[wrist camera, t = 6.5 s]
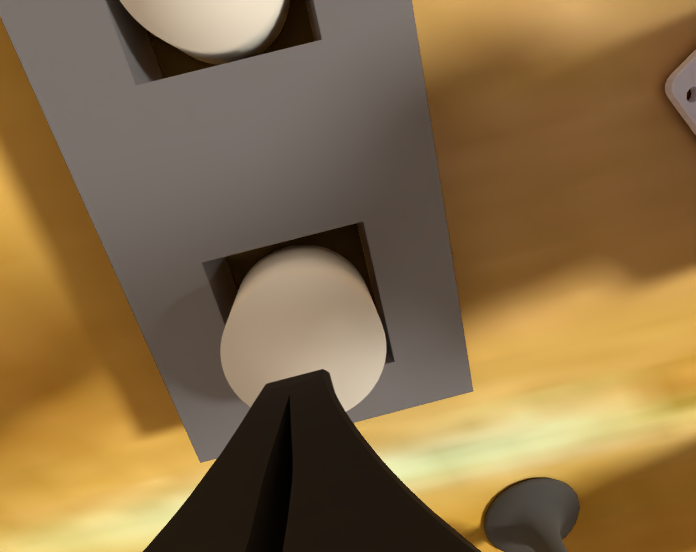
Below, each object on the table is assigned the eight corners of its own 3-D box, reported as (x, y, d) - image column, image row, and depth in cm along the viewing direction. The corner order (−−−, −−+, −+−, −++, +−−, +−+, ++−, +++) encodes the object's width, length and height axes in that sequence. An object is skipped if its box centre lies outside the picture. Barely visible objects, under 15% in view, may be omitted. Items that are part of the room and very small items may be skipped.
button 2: (354, 229, 14) (367, 257, 11) (382, 349, 15) (400, 400, 12) (217, 264, 14) (195, 300, 11) (259, 380, 15) (250, 439, 12)
